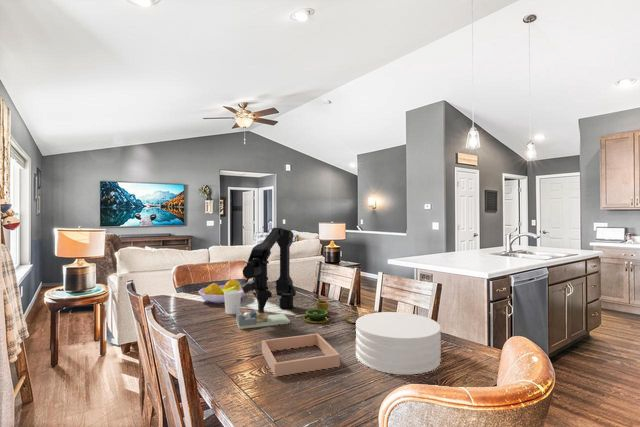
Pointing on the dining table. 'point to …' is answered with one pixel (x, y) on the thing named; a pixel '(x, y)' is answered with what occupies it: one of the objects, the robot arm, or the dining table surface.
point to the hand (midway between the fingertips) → (260, 309)
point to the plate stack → (398, 342)
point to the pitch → (252, 322)
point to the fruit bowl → (220, 291)
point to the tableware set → (320, 314)
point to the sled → (259, 314)
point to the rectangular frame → (299, 365)
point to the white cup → (232, 301)
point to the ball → (247, 315)
